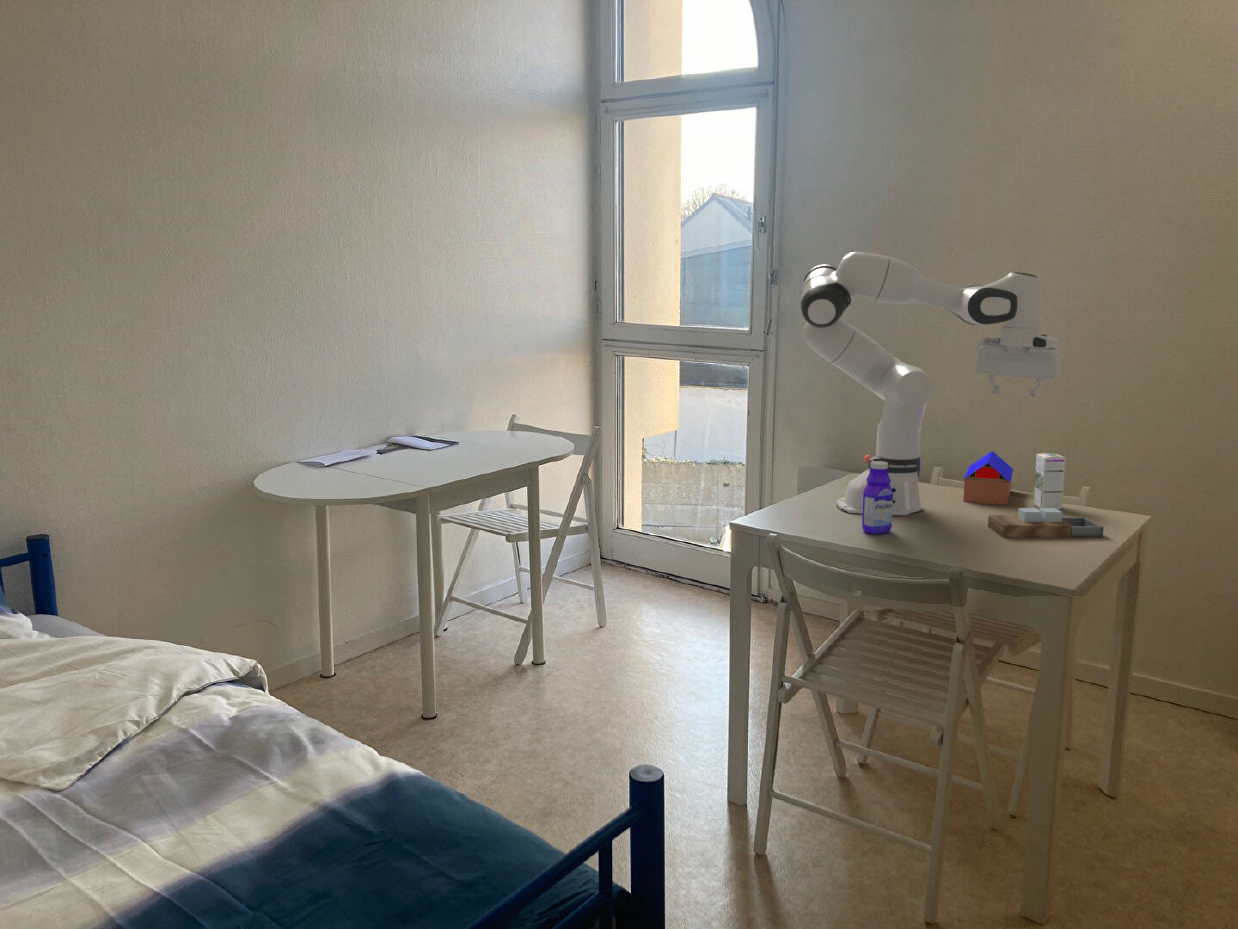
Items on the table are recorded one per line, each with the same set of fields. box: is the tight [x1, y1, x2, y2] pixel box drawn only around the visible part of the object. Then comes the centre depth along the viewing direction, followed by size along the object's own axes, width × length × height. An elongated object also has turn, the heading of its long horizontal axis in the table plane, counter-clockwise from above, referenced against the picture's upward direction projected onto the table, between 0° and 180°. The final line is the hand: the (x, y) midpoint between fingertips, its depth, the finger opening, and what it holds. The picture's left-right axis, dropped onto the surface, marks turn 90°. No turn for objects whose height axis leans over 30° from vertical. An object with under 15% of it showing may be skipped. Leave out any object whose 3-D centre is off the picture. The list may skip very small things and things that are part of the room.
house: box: [962, 450, 1014, 506], centre depth 270 cm, size 12×20×12 cm, turn 155°
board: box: [987, 514, 1071, 538], centre depth 232 cm, size 16×10×3 cm, turn 89°
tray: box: [1062, 516, 1105, 538], centre depth 232 cm, size 8×10×2 cm
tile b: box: [1017, 507, 1042, 522], centre depth 232 cm, size 4×4×2 cm
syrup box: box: [1032, 452, 1066, 509], centre depth 255 cm, size 6×6×14 cm
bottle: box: [861, 461, 893, 535], centre depth 232 cm, size 7×6×17 cm
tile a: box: [1038, 508, 1063, 522], centre depth 232 cm, size 4×4×2 cm
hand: (1014, 394), depth 238 cm, fingers open, 8 cm apart
